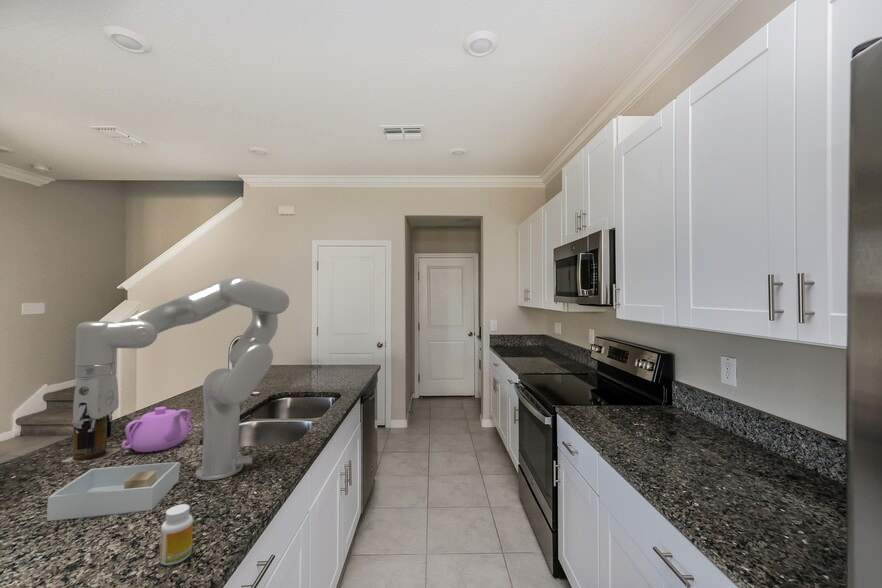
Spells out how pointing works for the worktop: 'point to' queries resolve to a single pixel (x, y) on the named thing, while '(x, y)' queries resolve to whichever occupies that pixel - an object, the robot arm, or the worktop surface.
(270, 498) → the worktop surface
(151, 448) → the teapot
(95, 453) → the condiment
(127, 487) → the cube
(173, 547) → the supplement bottle
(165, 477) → the tote
